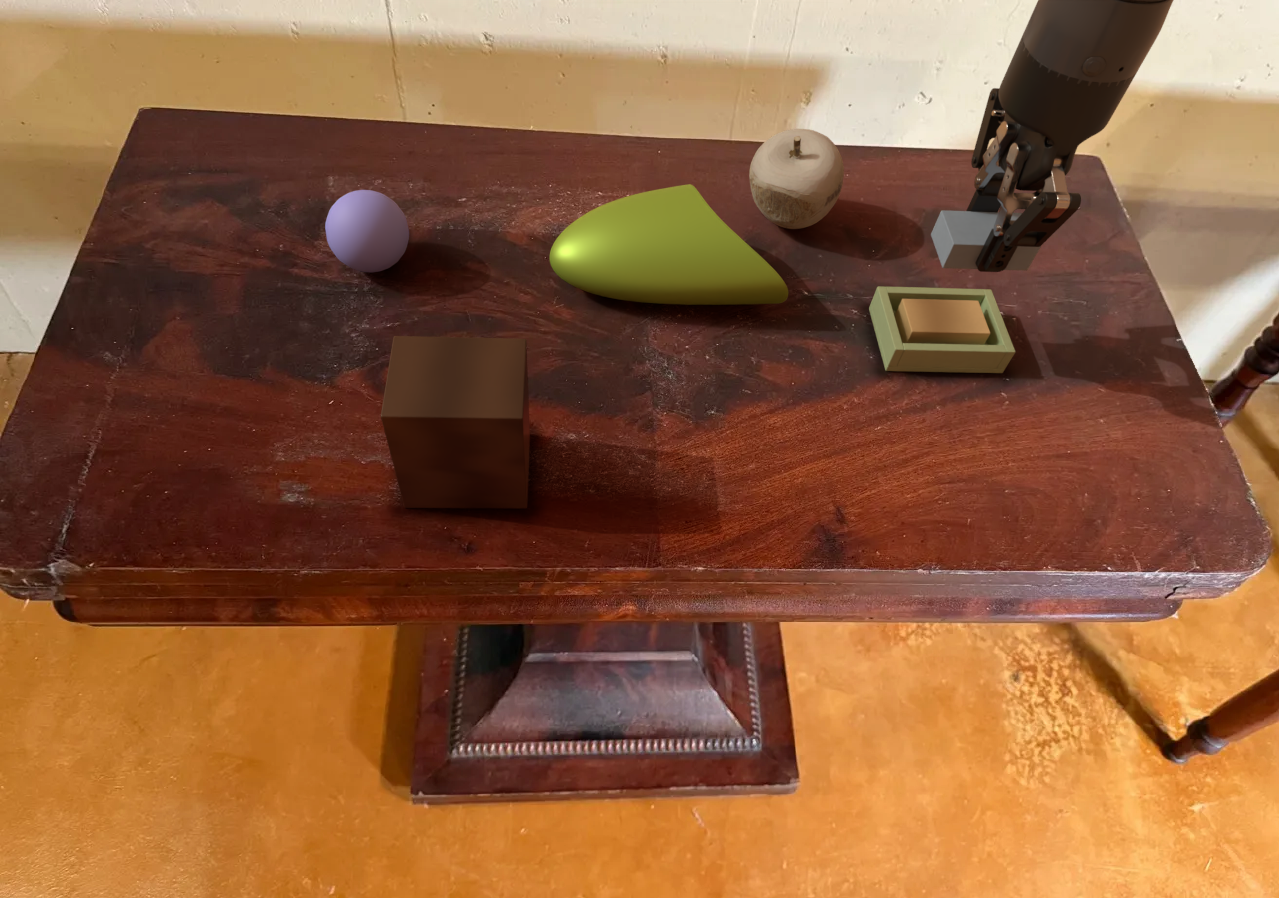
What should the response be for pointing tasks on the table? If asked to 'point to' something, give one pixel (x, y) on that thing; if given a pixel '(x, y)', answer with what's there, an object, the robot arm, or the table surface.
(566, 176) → the table surface
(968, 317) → the birch pad
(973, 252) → the rubber pad
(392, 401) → the stand
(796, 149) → the decorative object
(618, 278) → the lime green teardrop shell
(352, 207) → the sphere
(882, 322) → the olive green tray
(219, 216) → the table surface
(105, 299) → the table surface
